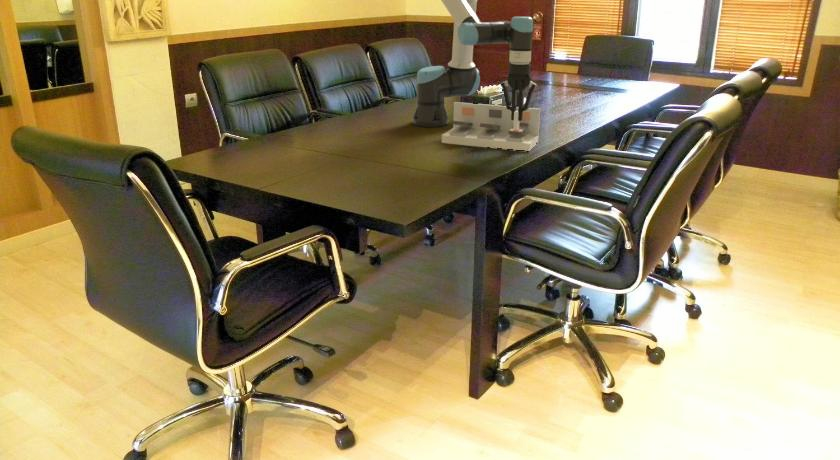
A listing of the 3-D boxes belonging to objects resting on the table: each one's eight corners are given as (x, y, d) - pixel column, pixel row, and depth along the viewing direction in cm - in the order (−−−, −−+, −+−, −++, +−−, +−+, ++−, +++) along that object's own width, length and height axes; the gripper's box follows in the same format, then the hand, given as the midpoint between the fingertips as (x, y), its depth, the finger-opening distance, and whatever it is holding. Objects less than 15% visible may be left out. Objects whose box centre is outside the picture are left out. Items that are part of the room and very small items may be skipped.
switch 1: (452, 124, 242) (452, 120, 242) (460, 125, 251) (460, 121, 251) (464, 125, 240) (464, 121, 240) (472, 126, 249) (472, 122, 249)
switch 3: (508, 134, 235) (508, 130, 234) (515, 125, 243) (515, 122, 242) (521, 135, 233) (522, 131, 233) (528, 126, 241) (528, 123, 241)
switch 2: (479, 126, 238) (480, 122, 238) (487, 127, 247) (487, 124, 247) (492, 127, 236) (493, 124, 236) (499, 129, 246) (500, 125, 245)
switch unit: (441, 142, 245) (442, 108, 240) (453, 134, 257) (454, 102, 252) (529, 151, 233) (531, 116, 228) (538, 142, 245) (540, 108, 240)
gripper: (498, 63, 224) (496, 129, 233) (535, 64, 220) (531, 132, 228) (504, 61, 231) (501, 125, 239) (540, 62, 226) (536, 128, 235)
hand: (516, 129), depth 234 cm, fingers closed
